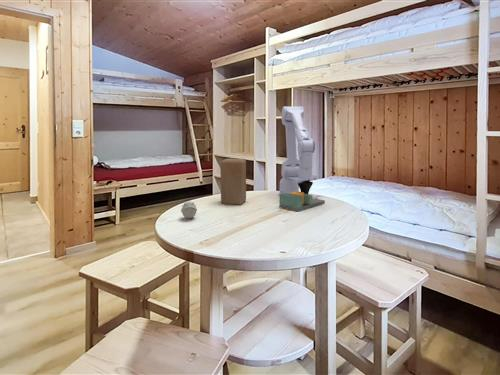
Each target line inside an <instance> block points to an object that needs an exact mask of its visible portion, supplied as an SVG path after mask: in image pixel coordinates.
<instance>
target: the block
mask: <svg viewBox="0 0 500 375" xmlns="http://www.w3.org/2000/svg"><path fill="white" fill-rule="evenodd" d="M219 164H220V166H219V167H220V168H219V170H220V171H219V172H220V173H219V174H220V202H221V204H222V205H231V204H234V206H237V205H238V206H240V205H241V206H242V205H243V203H245V202H246V200H247V160H246V159H245V158H225V159H222V160H220V163H219Z"/></svg>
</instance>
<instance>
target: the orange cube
mask: <svg viewBox="0 0 500 375" xmlns="http://www.w3.org/2000/svg"><path fill="white" fill-rule="evenodd" d="M290 194H292V195H297V196H302V204H304V192H301V191H300V190H299V191H296V192H291V193H290Z"/></svg>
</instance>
